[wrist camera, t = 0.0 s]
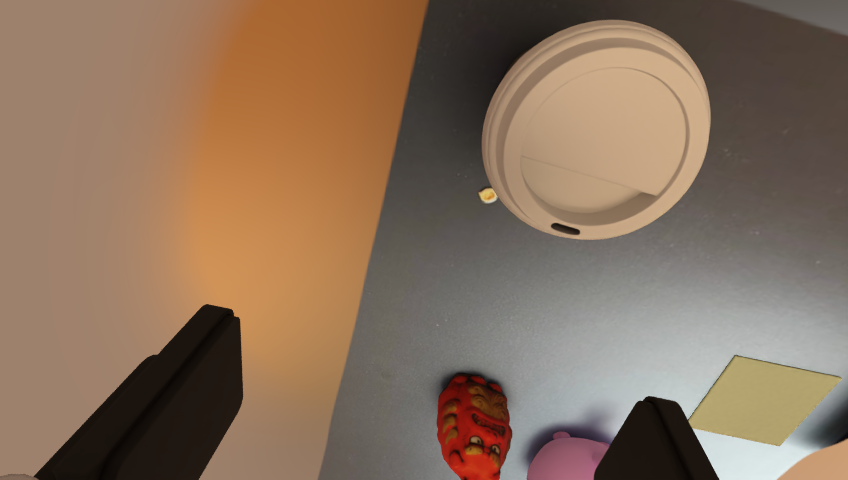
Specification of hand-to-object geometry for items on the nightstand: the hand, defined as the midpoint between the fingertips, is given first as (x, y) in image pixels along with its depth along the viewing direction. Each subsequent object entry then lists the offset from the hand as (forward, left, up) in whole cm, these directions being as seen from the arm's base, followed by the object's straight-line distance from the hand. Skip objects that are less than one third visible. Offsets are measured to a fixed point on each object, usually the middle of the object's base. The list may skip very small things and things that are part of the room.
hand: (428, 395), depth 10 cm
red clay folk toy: (+27, +8, -26) cm, 38 cm away
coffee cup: (-4, +6, -26) cm, 26 cm away
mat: (+20, +35, -25) cm, 47 cm away
